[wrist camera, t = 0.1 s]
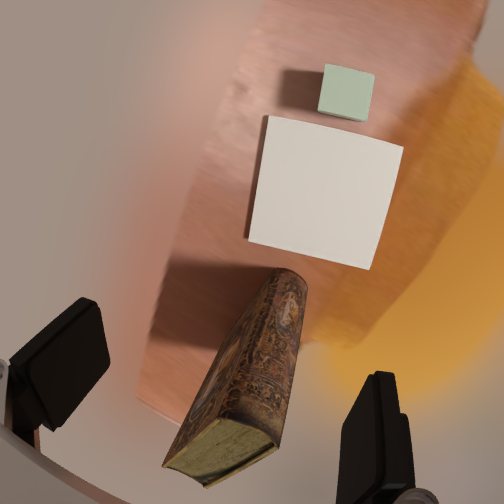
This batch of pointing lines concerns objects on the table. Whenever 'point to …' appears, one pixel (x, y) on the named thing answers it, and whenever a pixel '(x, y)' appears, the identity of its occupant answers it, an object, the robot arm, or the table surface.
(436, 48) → the table surface
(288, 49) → the table surface
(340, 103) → the block
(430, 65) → the table surface
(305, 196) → the pale board
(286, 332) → the book
